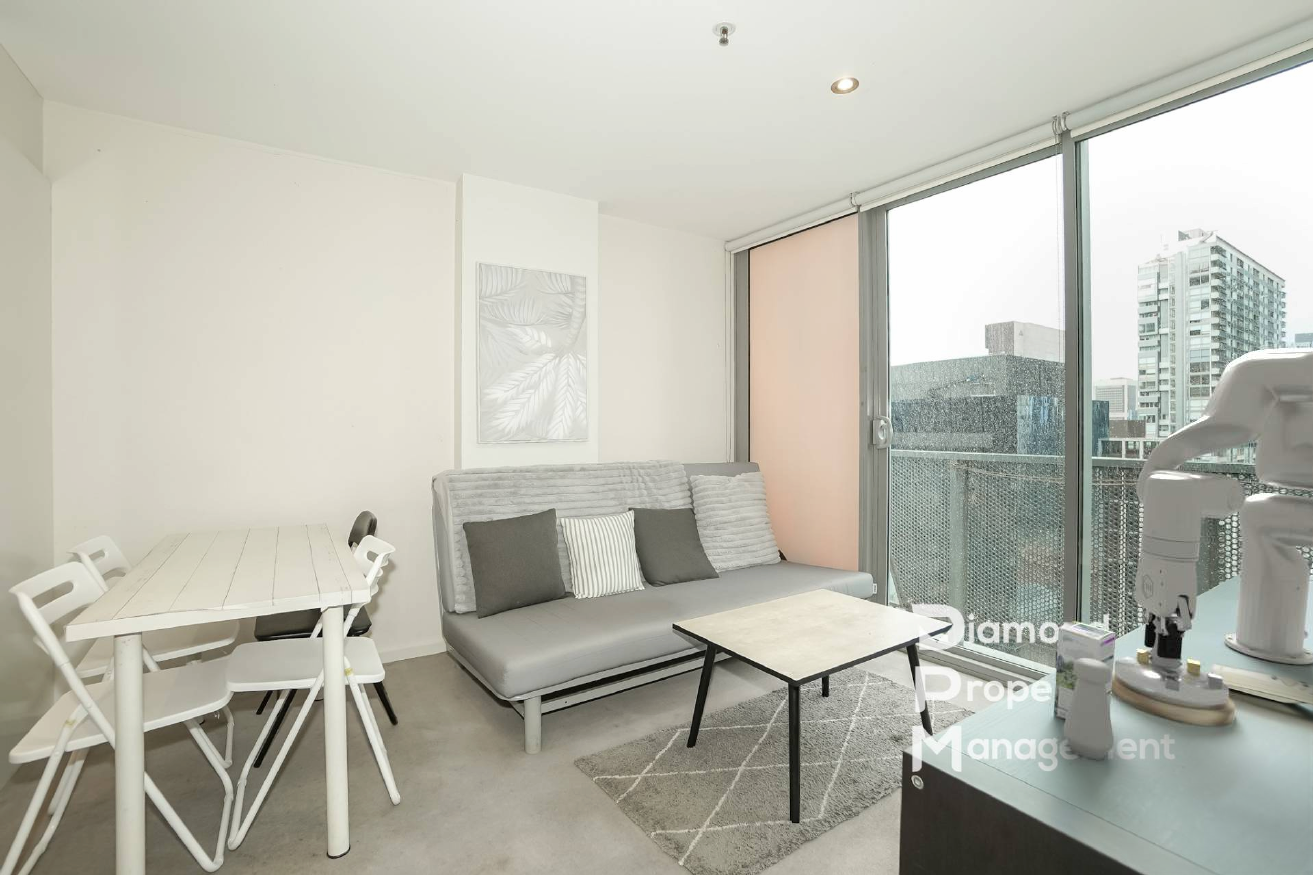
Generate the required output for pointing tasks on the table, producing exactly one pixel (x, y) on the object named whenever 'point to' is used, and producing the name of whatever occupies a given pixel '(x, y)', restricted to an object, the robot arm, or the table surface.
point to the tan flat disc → (1174, 708)
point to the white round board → (1172, 682)
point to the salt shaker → (1090, 711)
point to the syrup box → (1075, 645)
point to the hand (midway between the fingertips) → (1162, 651)
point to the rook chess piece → (1153, 653)
